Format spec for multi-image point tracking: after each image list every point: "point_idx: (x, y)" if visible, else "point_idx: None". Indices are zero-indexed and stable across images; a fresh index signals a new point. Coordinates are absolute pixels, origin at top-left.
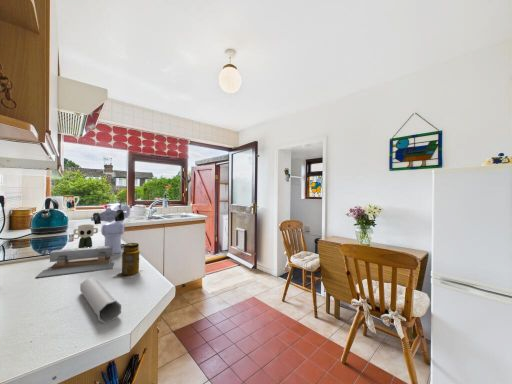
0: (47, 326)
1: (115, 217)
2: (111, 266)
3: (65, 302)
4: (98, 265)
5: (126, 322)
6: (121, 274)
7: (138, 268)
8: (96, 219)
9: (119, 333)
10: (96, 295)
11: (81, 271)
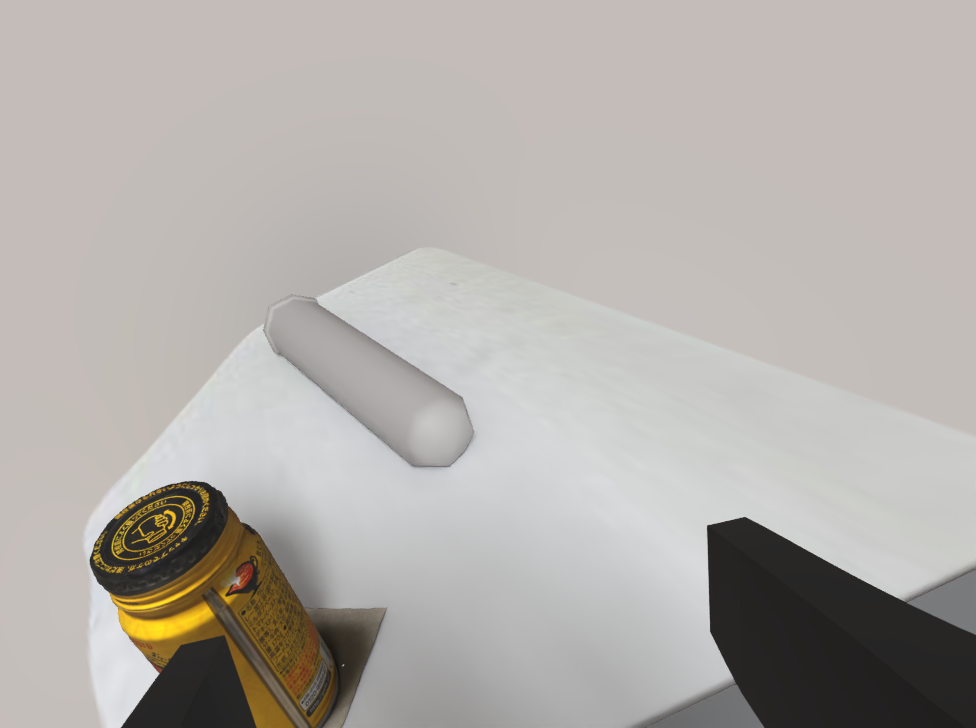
0: (455, 312)
1: (201, 641)
2: None
3: (491, 387)
4: None
5: (261, 349)
6: (340, 669)
7: None
8: (725, 537)
9: None
10: (339, 325)
11: (706, 700)
